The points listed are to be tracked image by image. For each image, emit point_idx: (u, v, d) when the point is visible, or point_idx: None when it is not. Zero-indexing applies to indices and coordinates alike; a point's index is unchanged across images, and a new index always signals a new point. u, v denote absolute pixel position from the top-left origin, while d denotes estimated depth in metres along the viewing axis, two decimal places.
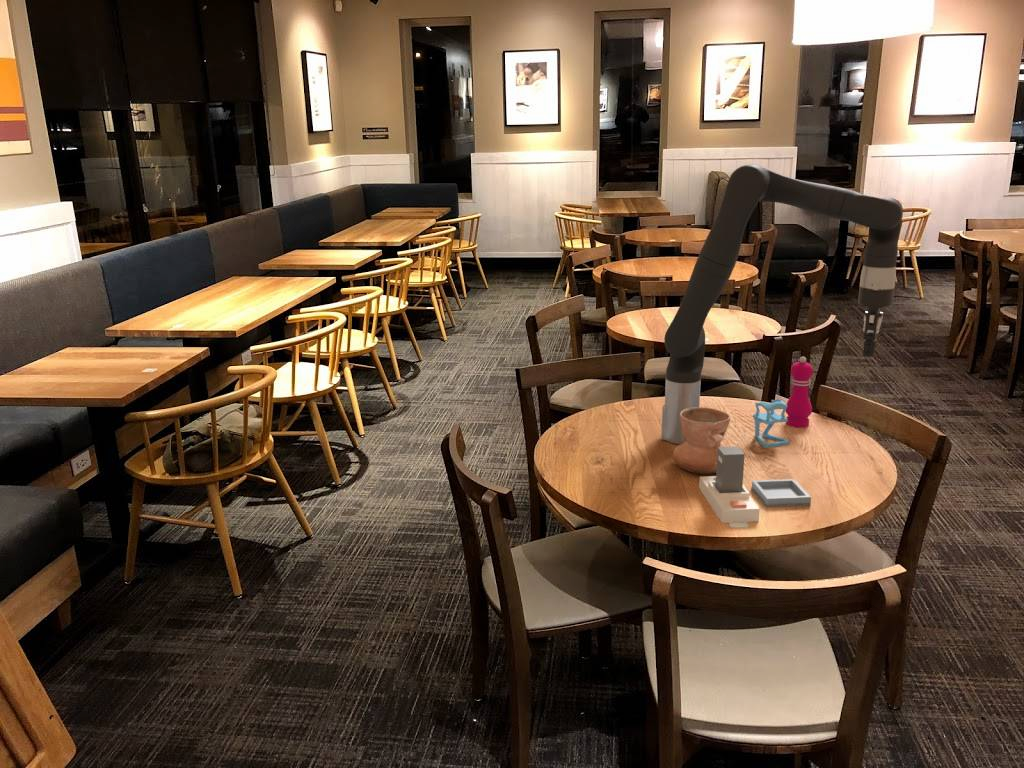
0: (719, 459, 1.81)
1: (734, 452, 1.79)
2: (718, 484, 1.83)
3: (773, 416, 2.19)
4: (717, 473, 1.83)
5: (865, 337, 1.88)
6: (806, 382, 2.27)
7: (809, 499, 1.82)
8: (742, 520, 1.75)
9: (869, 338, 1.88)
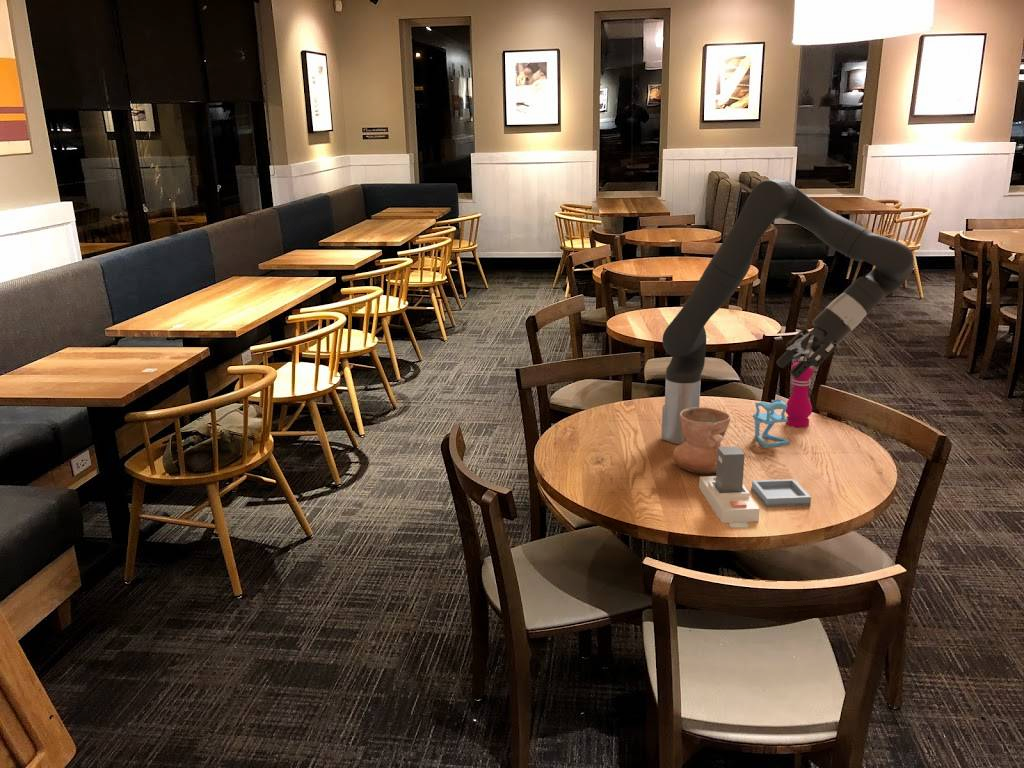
0: (719, 459, 1.81)
1: (734, 452, 1.79)
2: (718, 484, 1.83)
3: (773, 416, 2.19)
4: (717, 473, 1.83)
5: (812, 359, 1.76)
6: (806, 382, 2.27)
7: (809, 499, 1.82)
8: (742, 520, 1.75)
9: (814, 362, 1.76)
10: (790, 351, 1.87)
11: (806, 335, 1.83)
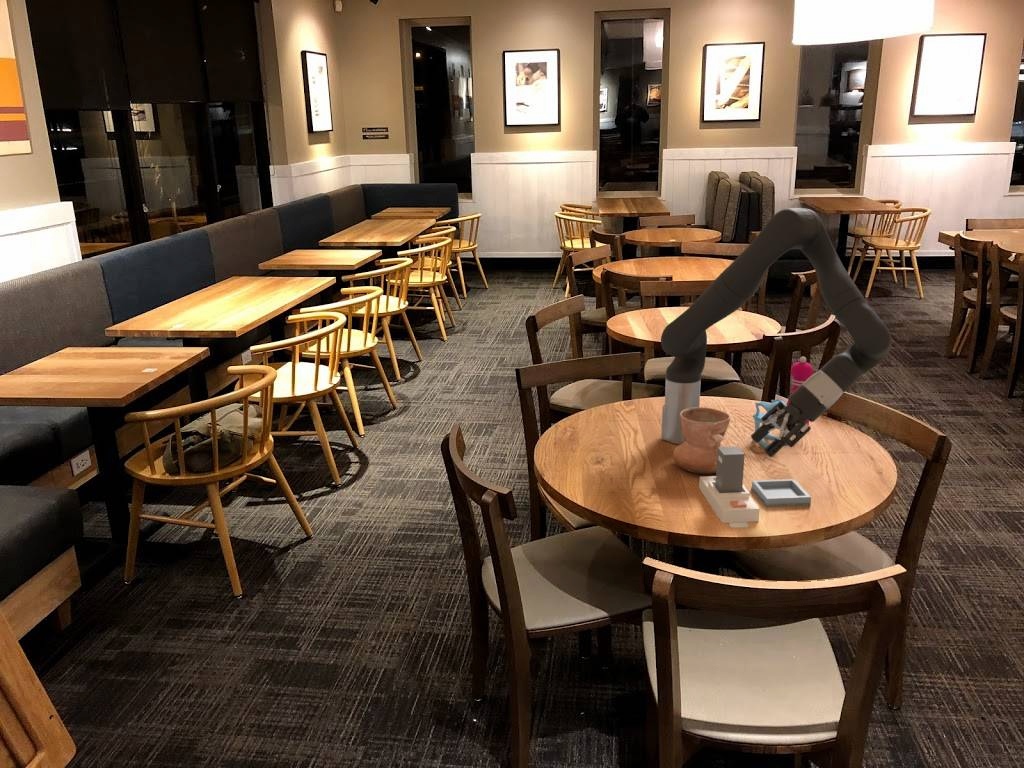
0: (719, 459, 1.81)
1: (734, 452, 1.79)
2: (718, 484, 1.83)
3: None
4: (717, 473, 1.83)
5: (787, 439, 1.73)
6: None
7: (809, 499, 1.82)
8: (742, 520, 1.75)
9: (789, 443, 1.73)
10: (765, 426, 1.84)
11: (781, 411, 1.80)
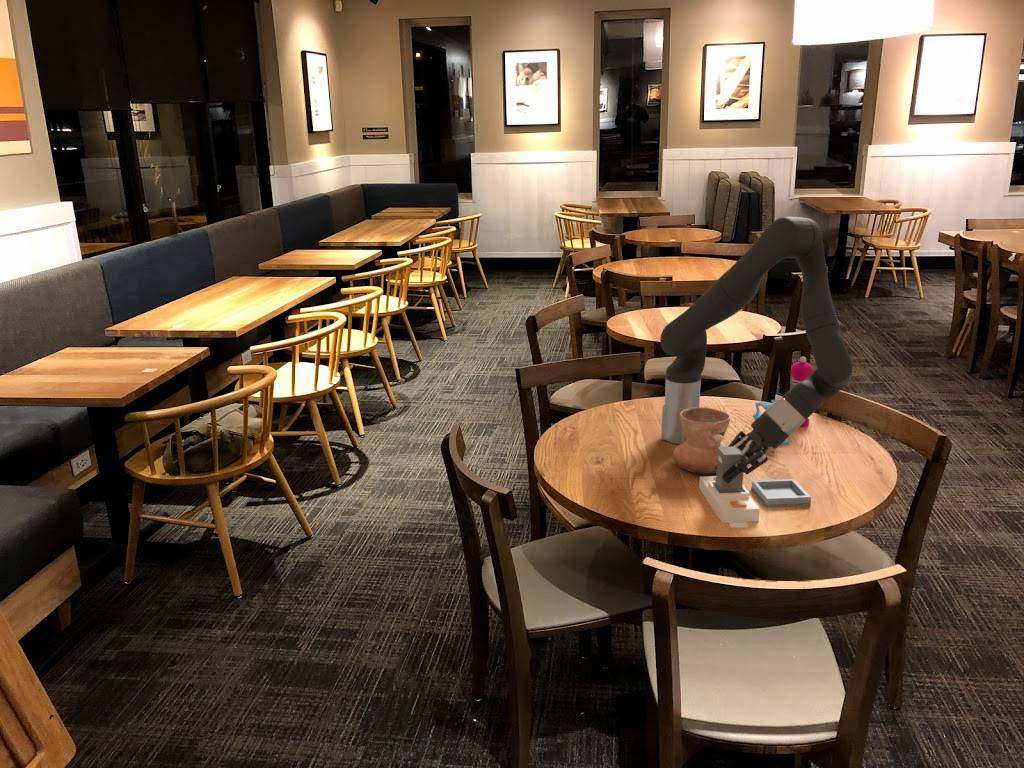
0: (719, 459, 1.81)
1: (734, 452, 1.79)
2: (718, 484, 1.83)
3: None
4: (717, 473, 1.83)
5: (742, 467, 1.76)
6: None
7: (809, 499, 1.82)
8: (742, 520, 1.75)
9: (744, 470, 1.76)
10: None
11: (744, 438, 1.81)
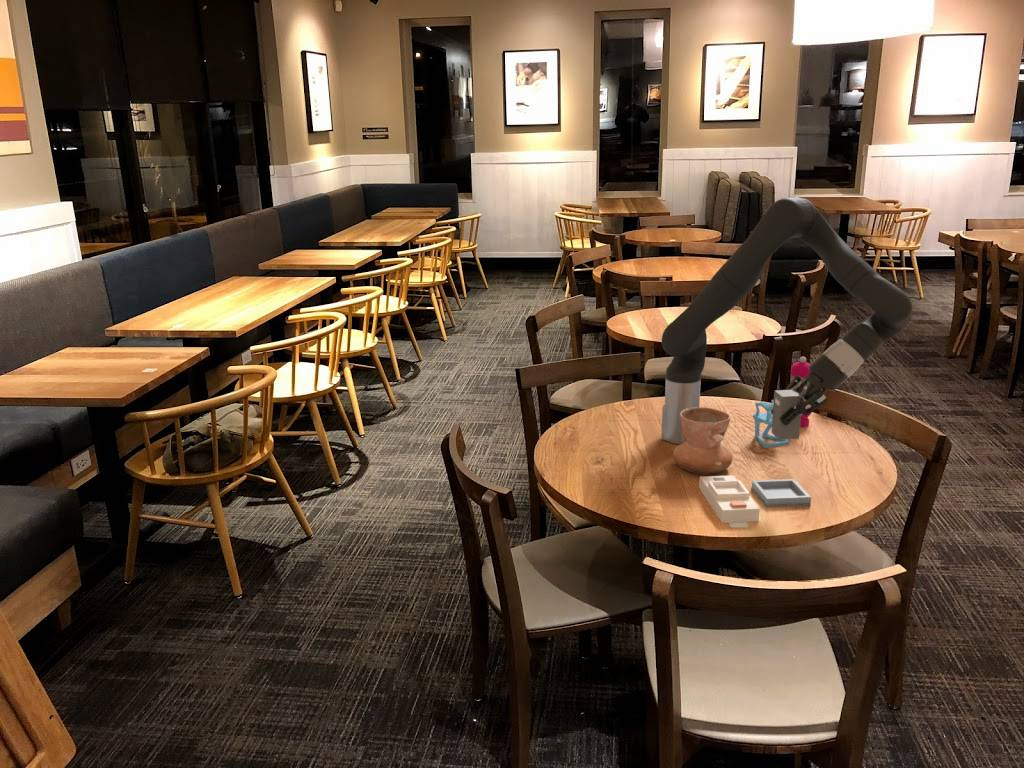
0: (776, 402, 1.81)
1: (792, 394, 1.79)
2: (775, 427, 1.82)
3: None
4: (774, 417, 1.83)
5: (801, 408, 1.75)
6: None
7: (809, 499, 1.82)
8: (742, 520, 1.75)
9: (803, 411, 1.76)
10: None
11: (802, 381, 1.81)
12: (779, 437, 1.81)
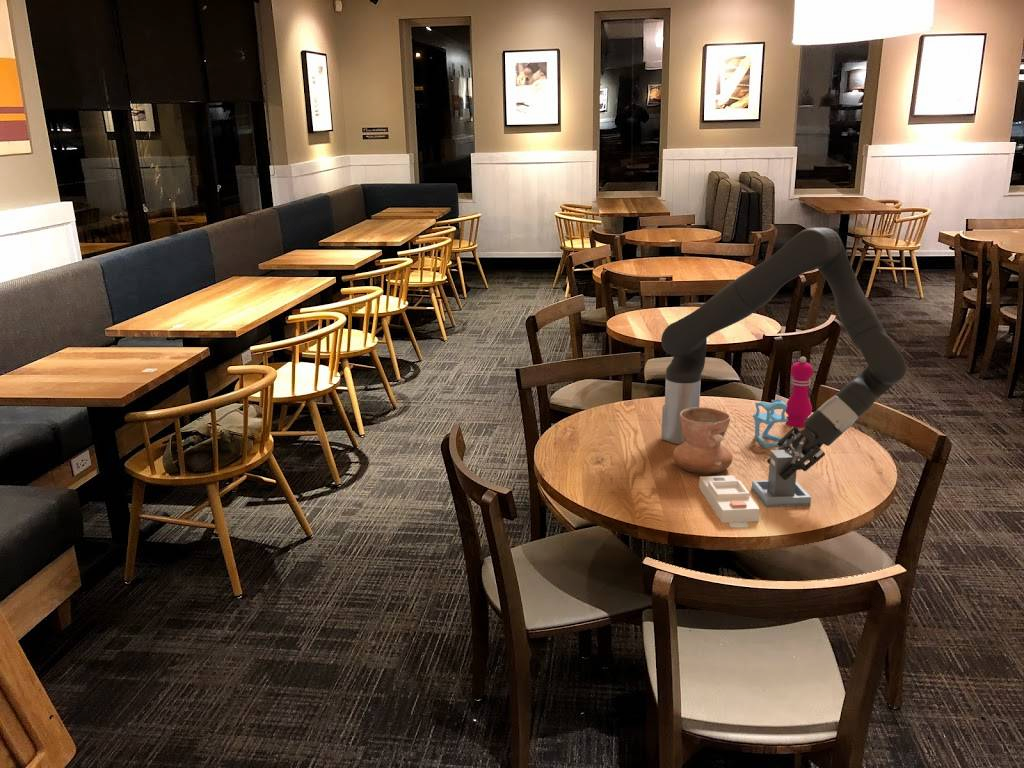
0: (772, 462, 1.85)
1: (787, 455, 1.83)
2: (770, 486, 1.87)
3: (773, 416, 2.19)
4: (769, 475, 1.87)
5: (800, 464, 1.78)
6: (806, 382, 2.27)
7: (809, 499, 1.82)
8: (742, 520, 1.75)
9: (802, 467, 1.78)
10: None
11: (797, 435, 1.85)
12: (774, 496, 1.85)
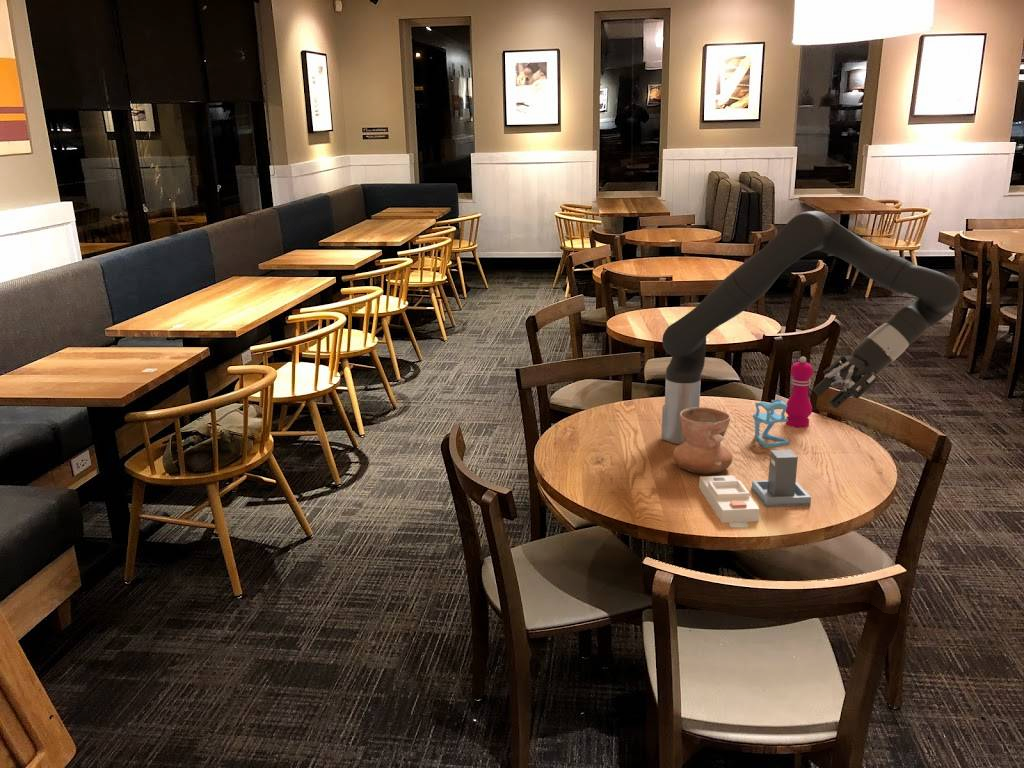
0: (772, 462, 1.85)
1: (787, 455, 1.83)
2: (770, 486, 1.87)
3: (773, 416, 2.19)
4: (769, 475, 1.87)
5: (853, 390, 1.74)
6: (806, 382, 2.27)
7: (809, 499, 1.82)
8: (742, 520, 1.75)
9: (855, 393, 1.74)
10: (828, 379, 1.85)
11: (845, 363, 1.81)
12: (774, 496, 1.85)
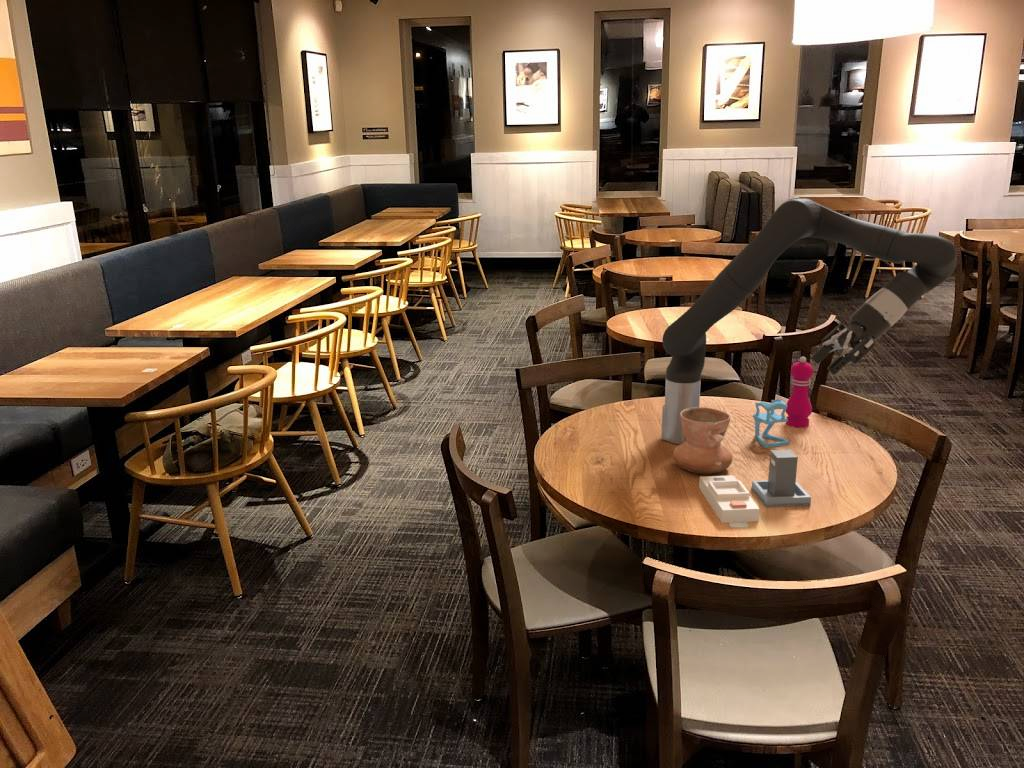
0: (772, 462, 1.85)
1: (787, 455, 1.83)
2: (770, 486, 1.87)
3: (773, 416, 2.19)
4: (769, 475, 1.87)
5: (851, 355, 1.72)
6: (806, 382, 2.27)
7: (809, 499, 1.82)
8: (742, 520, 1.75)
9: (853, 359, 1.72)
10: (826, 346, 1.83)
11: (843, 330, 1.79)
12: (774, 496, 1.85)
